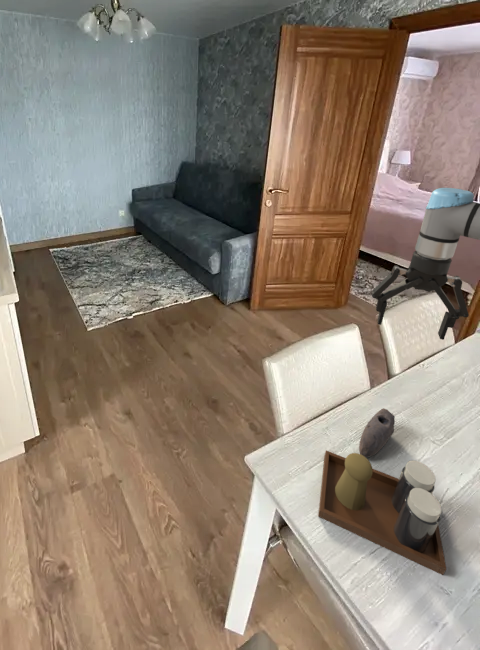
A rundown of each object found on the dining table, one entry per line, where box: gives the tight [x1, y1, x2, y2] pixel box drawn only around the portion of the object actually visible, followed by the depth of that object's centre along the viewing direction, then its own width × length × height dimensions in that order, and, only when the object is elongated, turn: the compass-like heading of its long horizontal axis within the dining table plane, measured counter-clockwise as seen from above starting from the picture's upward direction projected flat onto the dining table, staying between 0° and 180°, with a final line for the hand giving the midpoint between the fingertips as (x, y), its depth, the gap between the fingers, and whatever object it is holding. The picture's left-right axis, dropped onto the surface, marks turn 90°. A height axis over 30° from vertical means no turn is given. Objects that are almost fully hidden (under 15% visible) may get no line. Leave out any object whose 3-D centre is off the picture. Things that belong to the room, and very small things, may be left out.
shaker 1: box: [392, 460, 437, 513], centre depth 72 cm, size 6×6×11 cm
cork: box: [335, 452, 373, 510], centre depth 74 cm, size 6×6×11 cm
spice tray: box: [317, 450, 447, 576], centre depth 73 cm, size 22×15×3 cm
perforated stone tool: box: [358, 408, 396, 458], centre depth 87 cm, size 15×5×7 cm, turn 128°
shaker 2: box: [394, 488, 443, 553], centre depth 67 cm, size 6×6×11 cm
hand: (409, 329), depth 89 cm, fingers open, 13 cm apart
